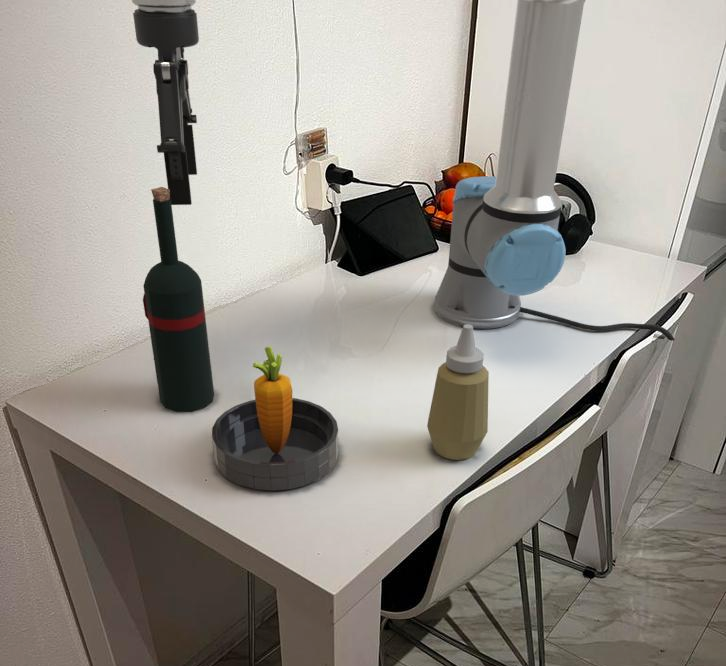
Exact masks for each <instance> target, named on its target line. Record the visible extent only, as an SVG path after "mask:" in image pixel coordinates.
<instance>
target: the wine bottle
mask: <svg viewBox="0 0 726 666" xmlns="http://www.w3.org/2000/svg"><path fill="white" fill-rule="evenodd" d="M150 191H151V195H152V197H153V199H152V206H153V212H154V219H155V226H156V236H157V242H158V249H159V256H160V262H157V263H156V264H154V265H153V266H152V267H151V268H150V270H149V271H148V272H147V275H146V276H145V278H144V282H143V295H142V304H143V310H144V311H143V312H144V316H145V318H146V319H147V320H148V328H149V335H150V342H151V348H152V356H153V362H154V368H155V376H156V377H155V378H156V382H157V390H158V396H159V403H160V405H162V407H164V409H165V410H168V411H172V412H175V413H192V412H196V411H200V410H204V409H205V408H207V407H208V406H209V405H211V404H212V403H213V402H214V398H215V389H214V388H215V387H214V381H213V372H212V371H213V370H212V362H211V355H210V354H211V353H210V346H209V345H210V343H209V335H208V328H207V319H206V309H205V301H204V294H203V293H204V291H203V284H202V279H201V277H200V275H199V273H197V272H196V271H195V270H194V268H193V267H191V266H190V265H189V264H188V263H185V262H183V261H181V260H179V255H178V247H177V240H176V239H177V238H176V229H175V222H174V215H173V214H174V213H173V207H172V206H173V205H171V199H170V189H168V187H164V186H159V187H155V188H152V189H150Z"/></svg>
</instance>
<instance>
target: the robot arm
mask: <svg viewBox="0 0 726 666" xmlns="http://www.w3.org/2000/svg"><path fill="white" fill-rule="evenodd" d="M516 1H517V2H516V9H515V16H514V17H515V18H514V26H513V33H512V43H511V49H510V50H511V51H510V58H509V67H508V77H507V84H506V91H505V92H506V93H505V100H504V108H503V117H502V124H501V125H502V126H501V134H500V143H499V149H498V158H497V166H496V173H495V174H496V176H492V175H491V176H490V175H489V176H473V177H467V178H464V179H460V180H459V181H458V182H457V183H456V185H455V189H454V195H453V198H452V216H451V227H450V240H449V251H448V263H447V264H448V265H447V268H446V270H445V273H444V275H443V278H442V280H441V283H440V285H439V287H438V290H437V292H436V295H435V297H434V307H433V309H434V312H435V313H436V315H437V316H438V317H439V318H441V319H442V320H444V321H446V322H448V323H450V324H452V325H456V326H459V327H463V326H464V325H466V324H469V325H472V326H473V329H484V330H485V329H487V330H489V329H497V328H502V327H506V326H509V325H511V324H512V323H514V322H517V320H518V319H519V317H520V313H522V314H526V315H529V316H530V315H531V316H535V317H539V318H542V319H546V320H550V321H553V322H557V323H561V324H564V325H567V326H570V327H574V328H578V329H582V330H586V331H594V332H608V331H609V332H610V331H615V330H620V329H634V330H635V329H636V330H637V329H638V330H649V331H650V330H651V331H656V332H658V333H661V334H662V335H664V336H665V337H666V339H668V341H672V342H673V341H675V340H676V339H675V338H674V336H673V335H672V333H671V332H670V331H669V330H667V329H666V328H665V327H663V326H661V325H657V324H648V323H631V322H626V323H625V322H624V323H623V322H622V323H614V324H609V325H592V324H587V323H586V324H585V323H582V322H578V321H574V320H572V319H568V318H564V317H562V316H561V317H560V316H557V315H553V314H549V313H545V312H542V311H539V310H534V309H530V308H527V307H523V306H522V302H521V298H520V296H521V297H522V296H528V295H532V294H535V293H537V292H540V291H541V290H543V289H544V288H545V287H546V286H547V285H549V284H551V283H552V282H553V281H554V280H555V279H556V278H557V276H558V275H559V274H560V272H561V270H562V268H563V266H564V264H565V260H566V245H565V241H564V238H563V237H562V234H561V233H560V232H559V230H558V229H559V223H560V218H561V211H562V206H563V205H562V204H563V201H562V199H561V198H560V196H559V195H558V194H557V193H556V191H555V185H556V184H555V183H556V177H557V170H558V166H559V159H560V153H561V147H562V141H563V134H564V128H565V122H566V116H567V109H568V104H569V99H570V92H571V86H572V80H573V75H574V74H573V73H574V67H575V61H576V56H577V49H578V43H579V38H580V37H579V36H580V31H581V26H582V25H581V24H582V19H583V12H584V6H585V3H586V0H516ZM131 2H132V3H133V5H135V6H137V9H134V12H132V16H133V23H134V30H135V31H134V32H135V38H136V42H137V44H138V45H140V46H141V47H145V48H155V49H156V50H157V59H155V61H154V63H153V64H152V66H153V74H154V79H155V87H156V95H157V102H158V118H159V120H158V121H159V132H160V144H157V145H156V150H157V154H158V153H159V154H163V160H164V167H165V175H166V182H167V183H166V184H167V189H170V199H171V205H172V206H191V205H193V204H192V194H191V193H192V192H191V184H190V176H197V175H198V170H197V169H198V167H197V160H196V159H197V158H196V149H195V147H196V146H195V139H194V129H193V128H194V127H193V124H198V119H197V118H198V117H197V114H193V108H192V105H191V97H190V91H189V87H190V85H189V63H188V60H187V59H185V54H184V53H185V48H191V47H194V46H196V45H198V43H199V41H200V35H199V26H198V14H197V12H196V10H194V9H193V8H192V7H193V6H194V5H195V4H196V3H197V0H131Z"/></svg>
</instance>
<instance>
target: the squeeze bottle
mask: <svg viewBox="0 0 726 666" xmlns="http://www.w3.org/2000/svg"><path fill="white" fill-rule="evenodd" d="M474 333H475V332H474V328H473V326H472V325H469V324H466V325H464V326H462V328H461V331H460V334H459V337H458V340H457V344H456V345H455V346H451V347H450V348H448V350H446V358H445V362H444V363H442V364H441V365H440V366H439V367H438V368H437V372H436V373H437V374H436V379H435V382H434V383H435V384H434V387H433V393H432V398H431V403H430V409H429V413H428V418H427V426H426V427H427V430H428V434H429V437H430V440H431V444H432V447H433V450H434V451H435V453H437V454H438V455H439V456H440V457H443V458H445V459H449V460H454V461H455V460H456V461H461V460H467V459H469V458H472V457H473V456H475V455H476V454H477V452H478V450H479V448H480V446H481V445H482V443H483V441H484V440H485V437H486V435H487V434H488V432H489V431H488V427H489V426H488V425H489V374H490V372H489V370H488V369H487V368H486V367H485V366H484V357H485V354H484V352H483V350H481V349H480V348H477V347H476V340H475V334H474Z"/></svg>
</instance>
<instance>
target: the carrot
mask: <svg viewBox="0 0 726 666" xmlns="http://www.w3.org/2000/svg"><path fill="white" fill-rule="evenodd" d="M264 351H265V355H266V357H267V360H269V361H266V360H264V361H263V362H262V363H260V362H254V363H252V367H253V368H255V369H258V370H259V371H261V372H262V373H263V374H262V375H260V376H259V377H257V378H256V379H255V380H254V382H253V390H254V398H255V399H254V400H256V408H257V415H258V420H259V424H260V428H261V431H262V435H263V438H264V440H265V441H266V443H267V445H268V447H269V448H270V449H271V451H272V452H273V453H275V454H278V453H279V452H281V450H282V448H283V447H284V445H285V443H286V441H287V438H288V436H289V431H290V426H291V420H292V398H293V387H292V383H291V379H290V377H289V376H288V375H285V374H281V373H280V370H281V366H282V359H283V355H281V354H280V353H277V354H276V355H275V353H274V350H273V348H272V347H271V346H268V345H267V346H266V347H265V348H264ZM269 363H270V364H269ZM263 364H264V366H265V367H264V366H263Z"/></svg>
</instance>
